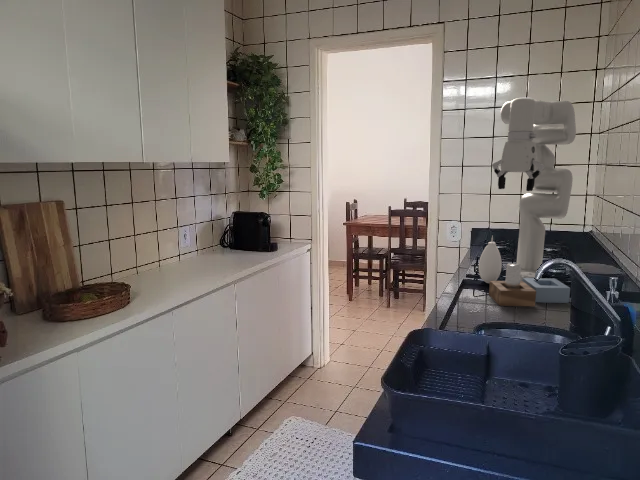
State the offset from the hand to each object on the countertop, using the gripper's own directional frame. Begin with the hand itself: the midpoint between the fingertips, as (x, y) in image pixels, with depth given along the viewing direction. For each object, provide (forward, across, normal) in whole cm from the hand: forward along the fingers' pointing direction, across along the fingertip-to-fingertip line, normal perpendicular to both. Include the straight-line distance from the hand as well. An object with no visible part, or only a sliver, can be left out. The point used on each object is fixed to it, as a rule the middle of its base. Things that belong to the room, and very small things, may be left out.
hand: (515, 189), depth 156 cm
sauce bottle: (+36, +10, -6) cm, 37 cm away
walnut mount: (+36, -6, +7) cm, 37 cm away
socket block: (+36, -11, -5) cm, 38 cm away
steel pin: (+36, -6, +7) cm, 37 cm away
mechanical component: (+36, -1, -15) cm, 39 cm away
